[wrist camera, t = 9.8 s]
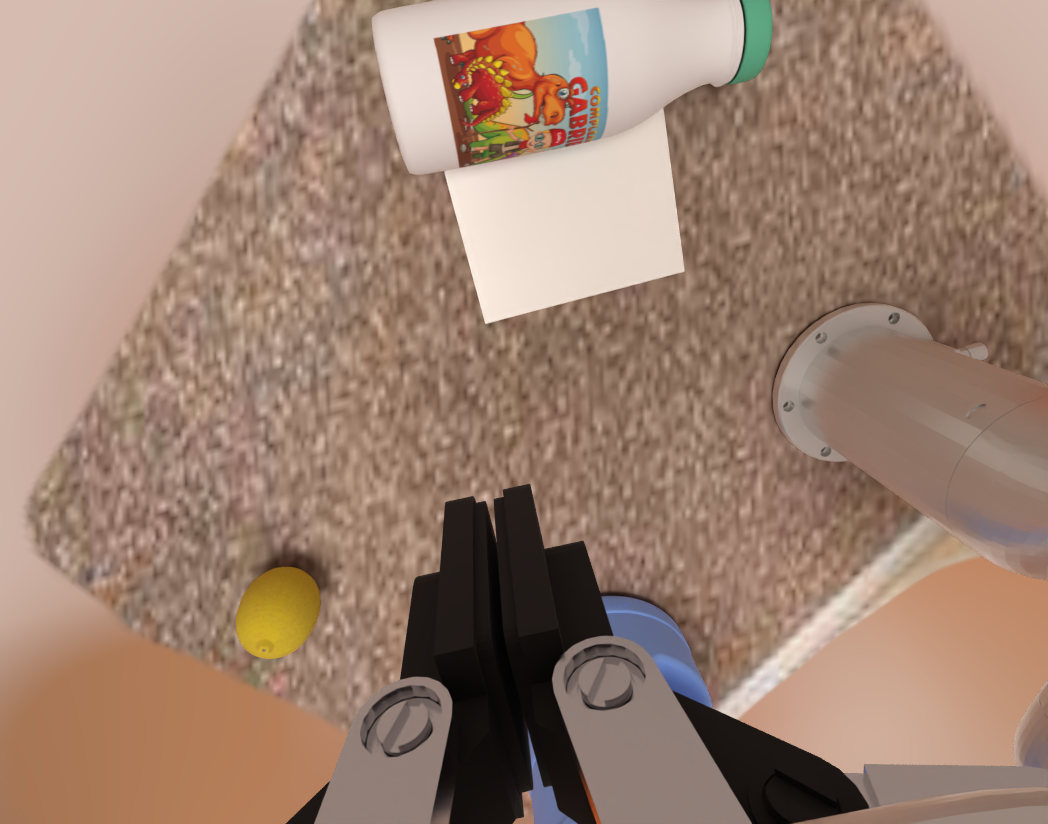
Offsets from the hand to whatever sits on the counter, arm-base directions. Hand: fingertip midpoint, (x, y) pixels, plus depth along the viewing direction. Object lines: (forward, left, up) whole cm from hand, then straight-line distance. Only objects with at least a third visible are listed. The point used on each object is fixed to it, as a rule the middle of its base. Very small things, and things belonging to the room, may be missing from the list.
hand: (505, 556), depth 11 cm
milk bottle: (+2, -11, -26) cm, 28 cm away
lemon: (+20, +18, -31) cm, 41 cm away
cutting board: (-7, -7, -31) cm, 32 cm away
